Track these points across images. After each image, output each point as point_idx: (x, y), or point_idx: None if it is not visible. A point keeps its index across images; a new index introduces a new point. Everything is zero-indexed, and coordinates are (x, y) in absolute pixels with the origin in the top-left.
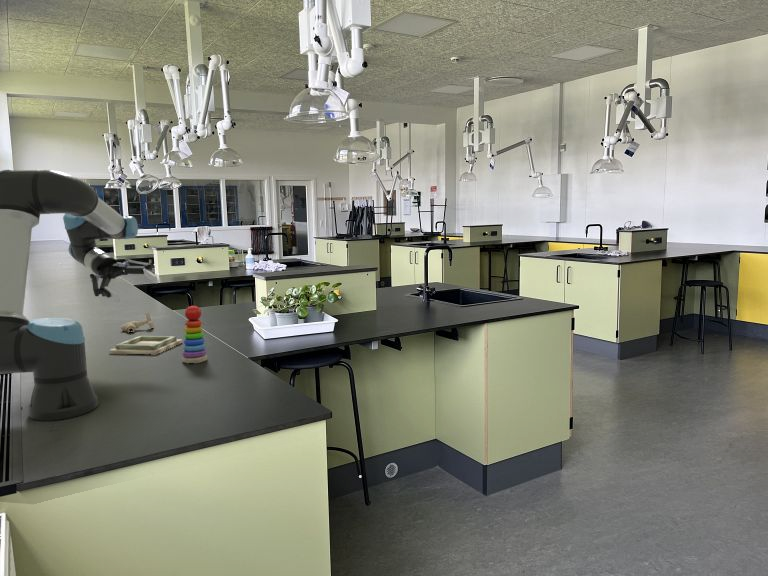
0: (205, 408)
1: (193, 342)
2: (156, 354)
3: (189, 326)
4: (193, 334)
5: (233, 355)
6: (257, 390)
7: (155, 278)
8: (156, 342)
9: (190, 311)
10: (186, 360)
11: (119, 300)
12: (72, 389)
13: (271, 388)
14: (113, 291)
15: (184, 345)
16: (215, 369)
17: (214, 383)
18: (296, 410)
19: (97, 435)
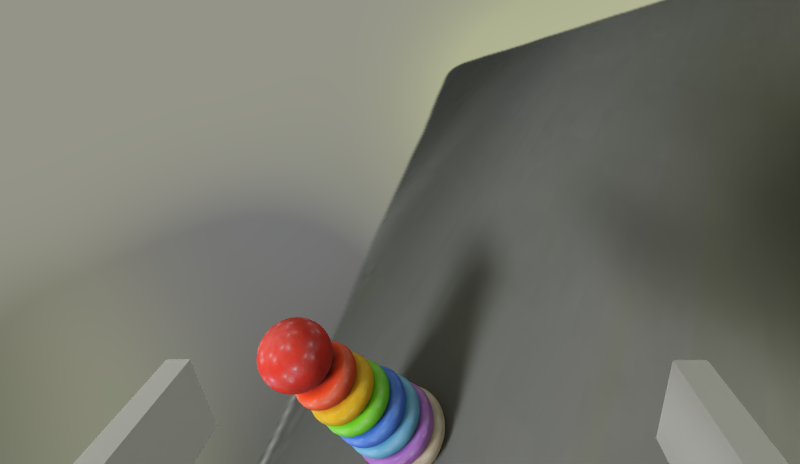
0: (564, 97)
1: (389, 369)
2: None
3: (355, 361)
4: (369, 362)
5: None
6: (455, 145)
7: (193, 377)
8: None
9: (312, 322)
10: (440, 409)
11: (661, 427)
12: None
13: (435, 147)
14: (738, 450)
15: (406, 420)
16: (425, 299)
17: (486, 203)
18: (469, 75)
19: (791, 27)
